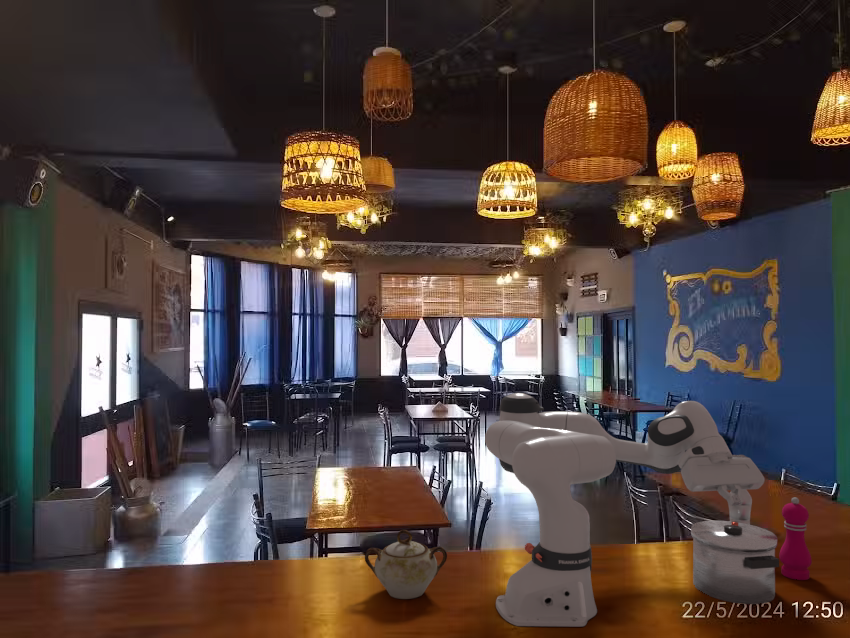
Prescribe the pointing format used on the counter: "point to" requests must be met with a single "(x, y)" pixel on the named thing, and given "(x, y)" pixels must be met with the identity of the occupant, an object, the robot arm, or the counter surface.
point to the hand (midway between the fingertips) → (736, 504)
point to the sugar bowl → (405, 566)
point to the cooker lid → (734, 536)
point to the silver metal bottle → (741, 509)
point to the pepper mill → (795, 542)
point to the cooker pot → (734, 574)
